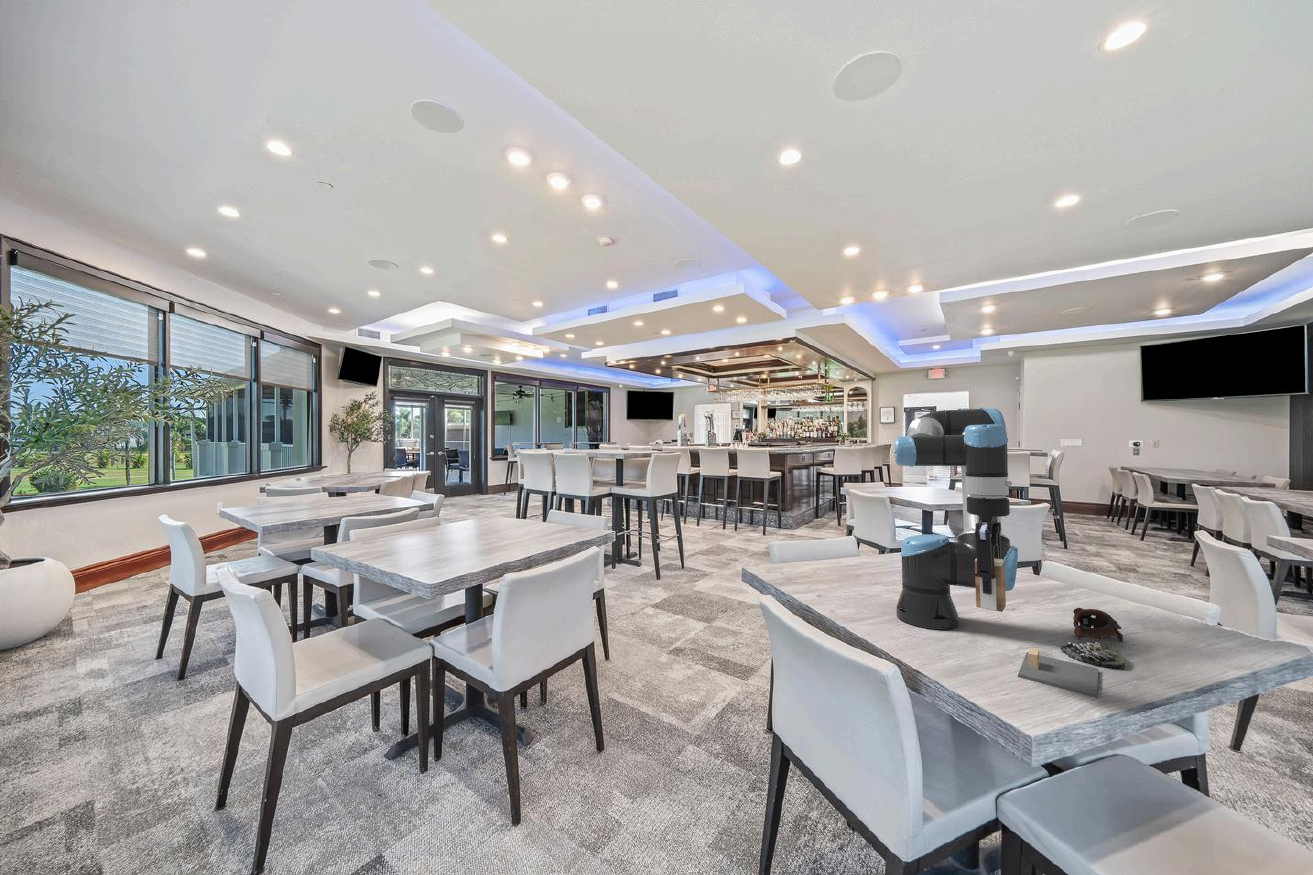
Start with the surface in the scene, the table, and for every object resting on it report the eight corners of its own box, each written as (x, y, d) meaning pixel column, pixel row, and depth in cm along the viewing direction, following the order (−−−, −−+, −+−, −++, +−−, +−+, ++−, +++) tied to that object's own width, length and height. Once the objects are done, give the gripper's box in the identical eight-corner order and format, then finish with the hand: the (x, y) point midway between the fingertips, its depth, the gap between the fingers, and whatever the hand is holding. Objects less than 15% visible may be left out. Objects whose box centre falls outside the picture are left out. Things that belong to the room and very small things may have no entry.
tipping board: (1018, 676, 97) (1017, 659, 97) (1026, 654, 107) (1026, 638, 107) (1096, 697, 89) (1096, 678, 89) (1098, 671, 99) (1097, 654, 99)
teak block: (976, 606, 99) (974, 560, 99) (980, 601, 102) (979, 556, 103) (1002, 611, 96) (1000, 563, 96) (1005, 606, 99) (1004, 559, 99)
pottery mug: (1139, 649, 110) (1129, 622, 109) (1099, 664, 112) (1088, 638, 110) (1094, 618, 122) (1085, 593, 121) (1058, 632, 123) (1048, 608, 122)
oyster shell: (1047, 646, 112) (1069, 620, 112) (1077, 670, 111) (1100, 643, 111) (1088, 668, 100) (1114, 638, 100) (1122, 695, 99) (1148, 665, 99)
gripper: (1001, 501, 91) (1006, 621, 90) (1015, 493, 103) (1019, 598, 103) (957, 498, 96) (960, 612, 96) (975, 491, 109) (978, 591, 108)
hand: (991, 605), depth 99 cm, fingers closed on teak block, 4 cm apart
